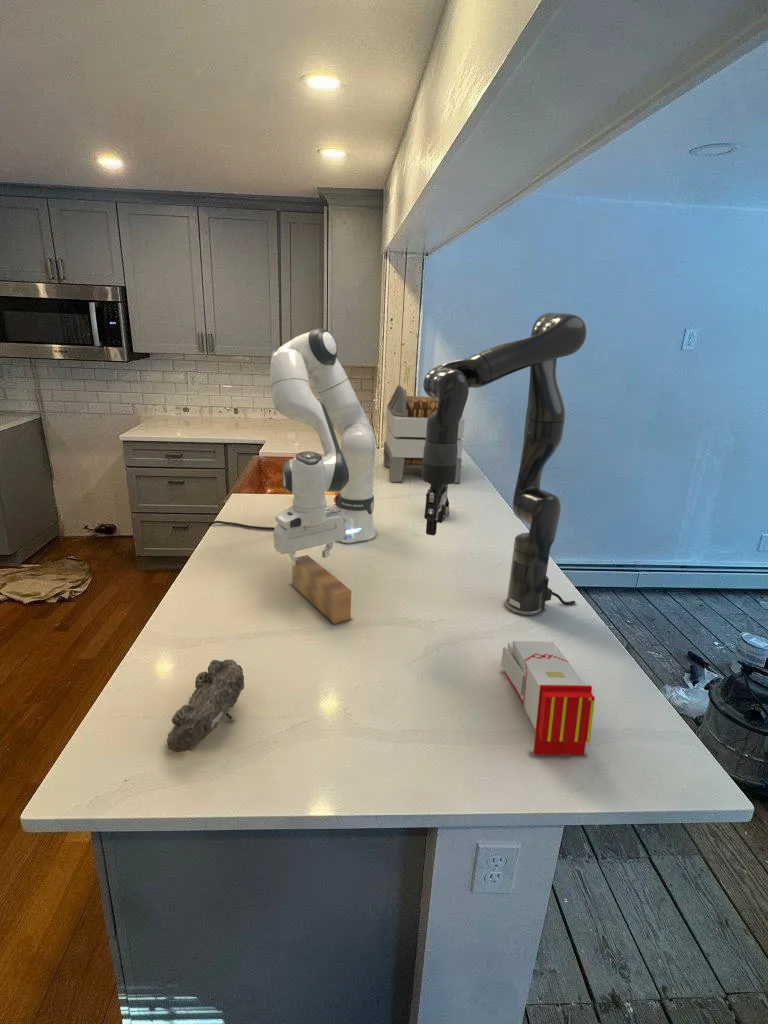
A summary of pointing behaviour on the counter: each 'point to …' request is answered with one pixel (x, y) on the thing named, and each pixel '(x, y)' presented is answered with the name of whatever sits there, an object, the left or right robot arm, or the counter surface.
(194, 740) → the fossil
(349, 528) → the left robot arm
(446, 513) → the figurine character
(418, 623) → the counter surface
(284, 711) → the counter surface
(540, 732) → the toy
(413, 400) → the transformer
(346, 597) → the bar
